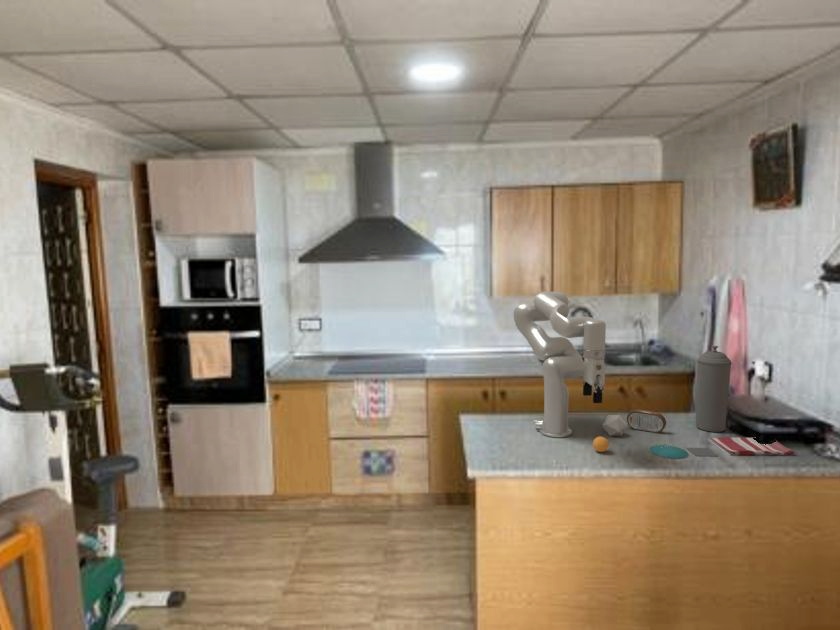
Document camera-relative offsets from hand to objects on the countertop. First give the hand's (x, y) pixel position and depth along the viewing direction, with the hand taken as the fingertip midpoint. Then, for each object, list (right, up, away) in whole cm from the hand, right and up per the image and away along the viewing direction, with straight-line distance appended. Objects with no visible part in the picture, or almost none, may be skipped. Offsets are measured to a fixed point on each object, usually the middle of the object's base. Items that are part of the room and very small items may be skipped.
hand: (592, 399), depth 205 cm
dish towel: (+61, -20, +4) cm, 64 cm away
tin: (+30, -17, +24) cm, 42 cm away
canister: (+57, -16, +26) cm, 65 cm away
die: (+15, -18, +20) cm, 31 cm away
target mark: (+29, -20, +1) cm, 35 cm away
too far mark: (+41, -20, 0) cm, 45 cm away
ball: (+4, -17, +1) cm, 18 cm away
